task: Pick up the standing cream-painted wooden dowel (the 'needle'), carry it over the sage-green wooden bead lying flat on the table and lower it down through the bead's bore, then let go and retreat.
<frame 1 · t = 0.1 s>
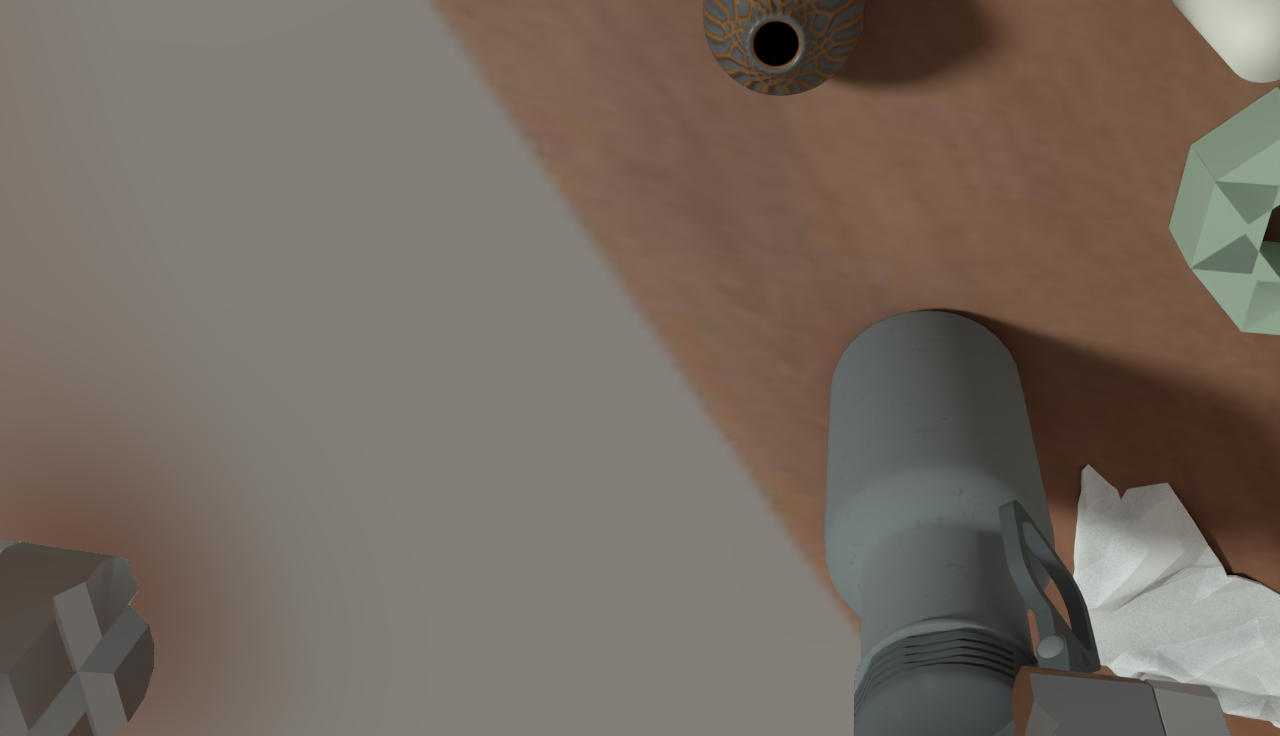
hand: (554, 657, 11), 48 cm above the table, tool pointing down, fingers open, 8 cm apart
cloth: (1191, 607, 69), on the table
water bottle: (927, 381, 63), on the table
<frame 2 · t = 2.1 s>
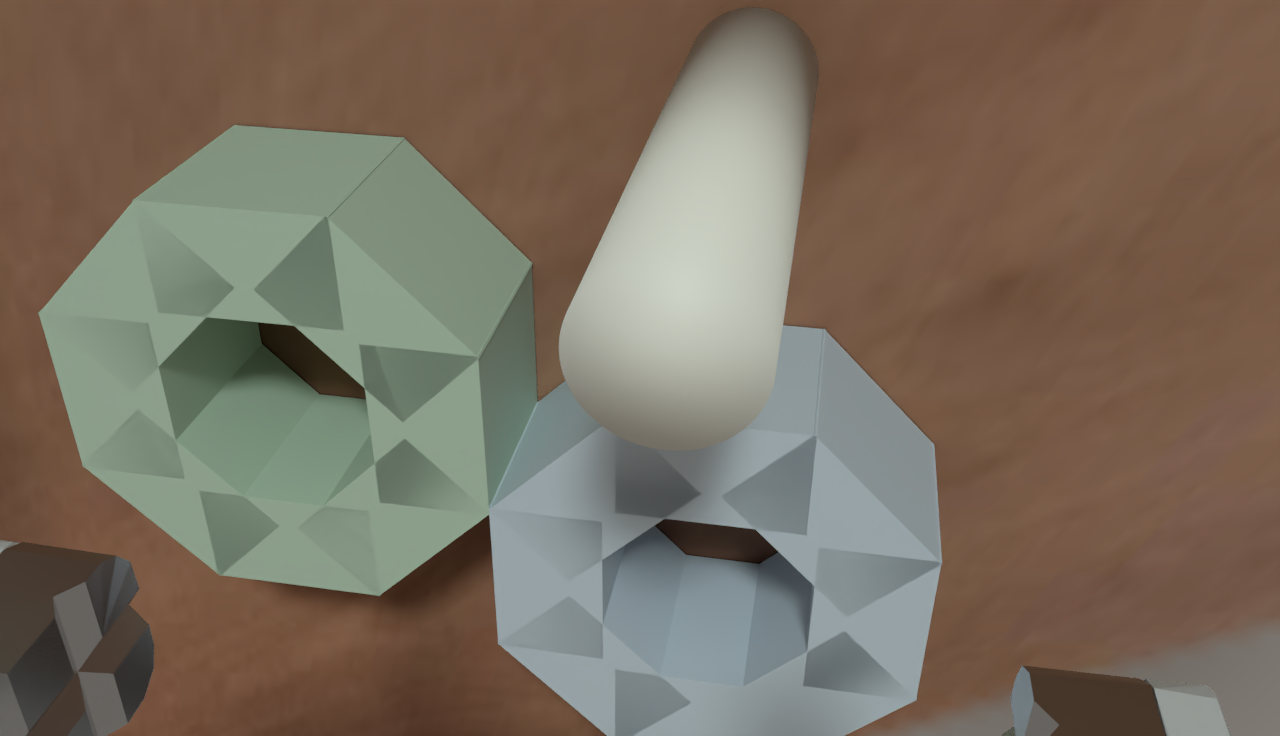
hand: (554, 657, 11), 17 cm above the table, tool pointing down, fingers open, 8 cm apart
bead: (344, 319, 30), on the table
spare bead: (726, 488, 31), on the table
dowel: (752, 74, 25), on the table
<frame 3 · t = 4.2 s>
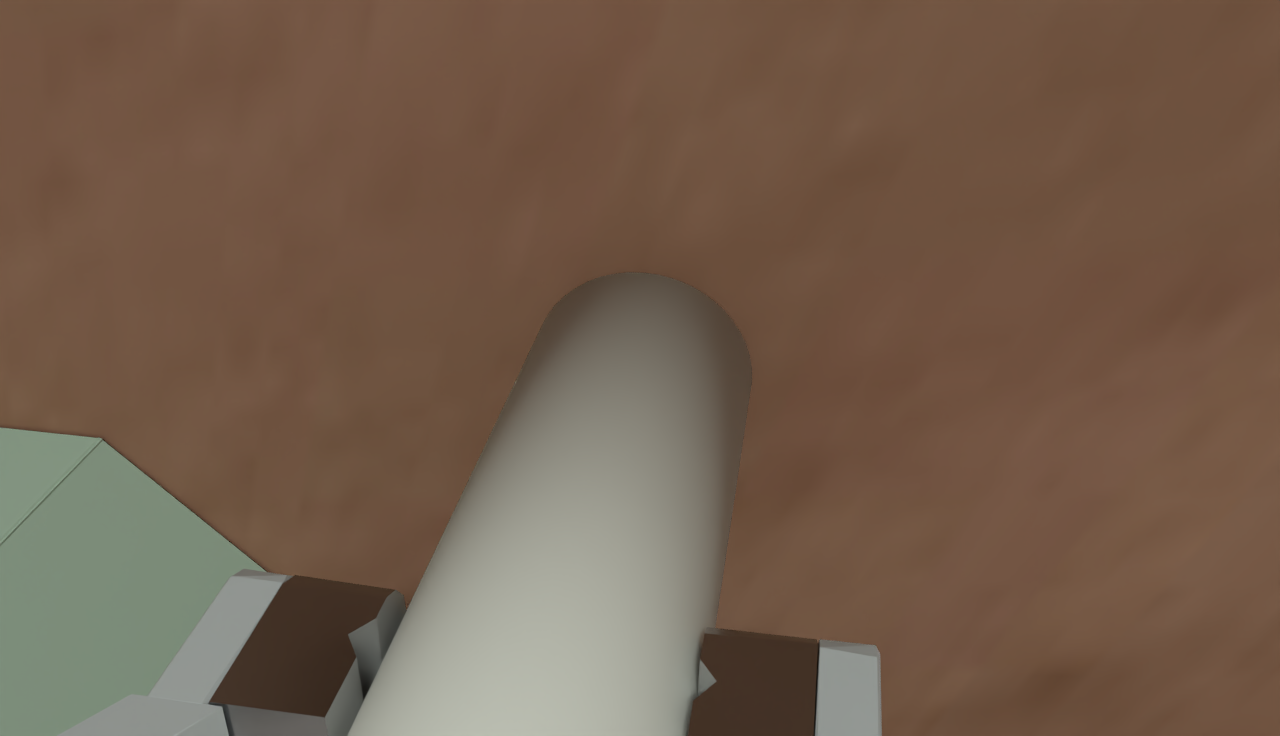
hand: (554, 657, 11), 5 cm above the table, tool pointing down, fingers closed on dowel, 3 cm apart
bead: (53, 670, 20), on the table
dowel: (642, 371, 15), on the table, touching gripper
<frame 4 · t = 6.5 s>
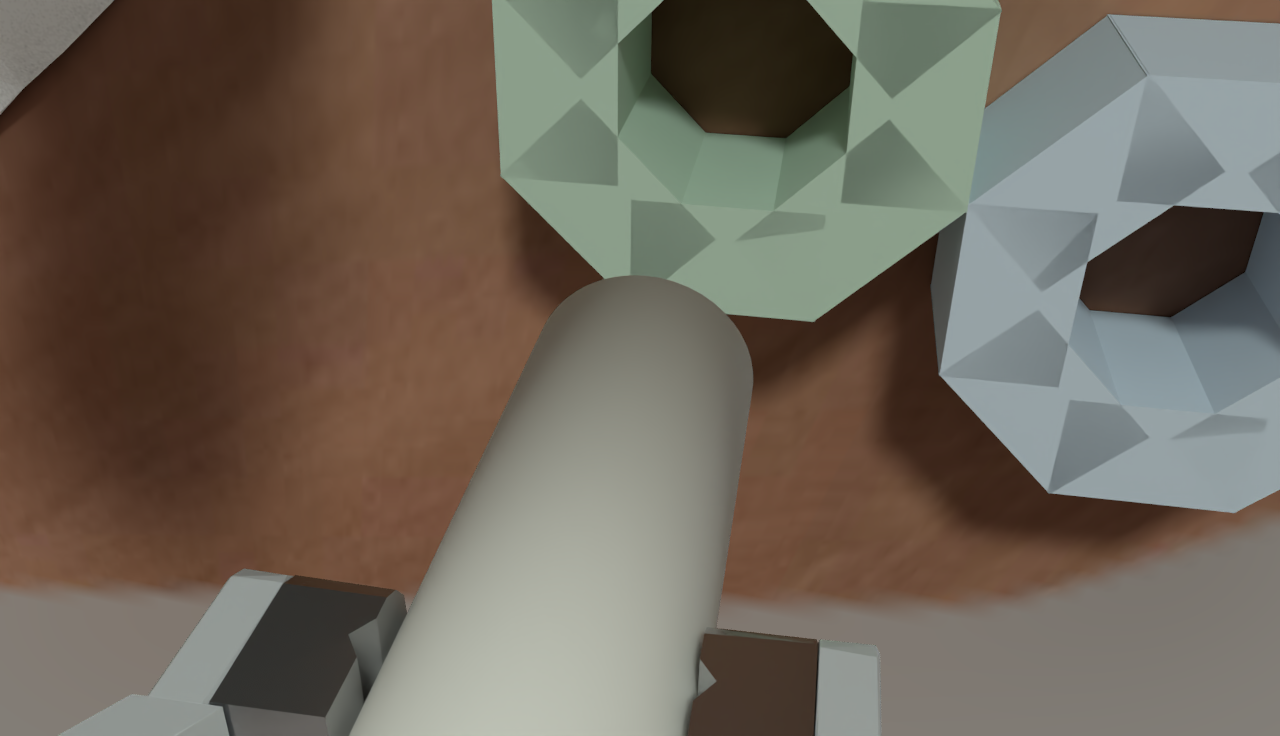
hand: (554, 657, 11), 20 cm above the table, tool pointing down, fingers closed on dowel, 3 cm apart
bead: (751, 38, 28), on the table
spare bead: (1152, 226, 29), on the table
dowel: (643, 374, 15), point 15 cm above the table, touching gripper
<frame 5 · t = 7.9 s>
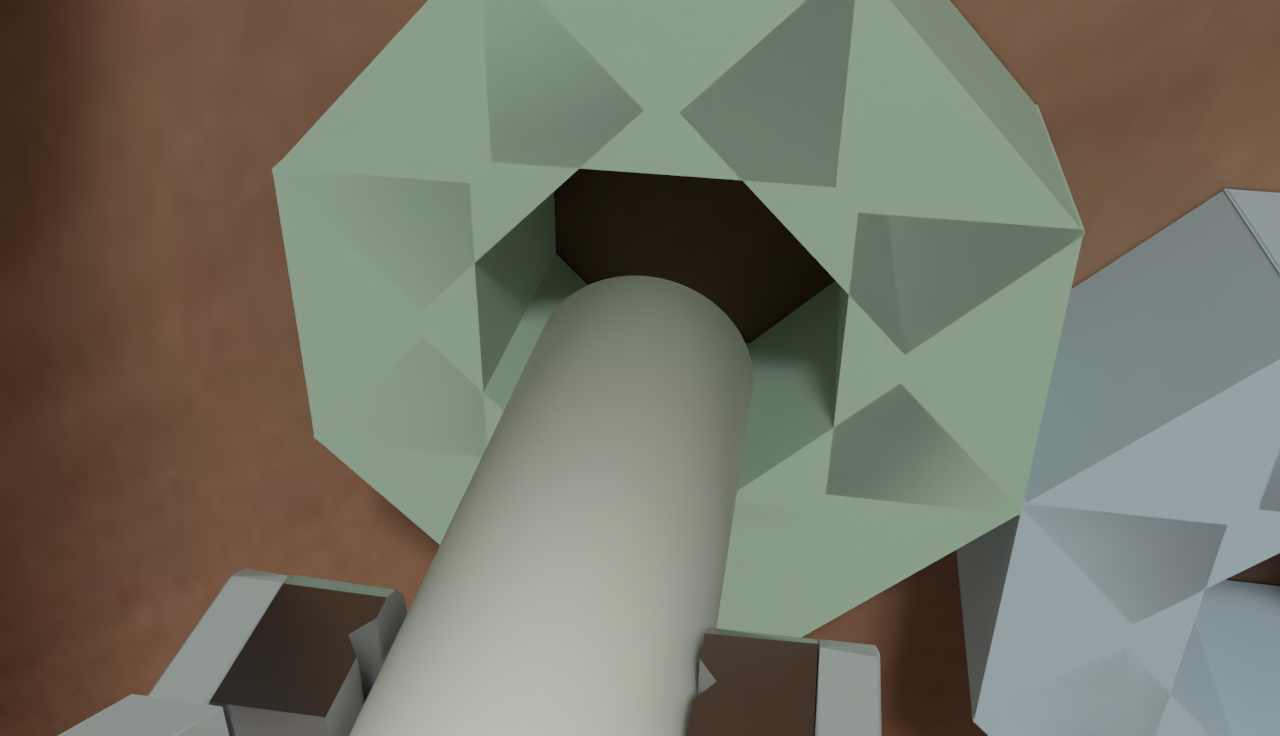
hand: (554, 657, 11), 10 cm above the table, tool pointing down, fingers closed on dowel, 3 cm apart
bead: (698, 210, 19), on the table
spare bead: (1275, 473, 20), on the table
dowel: (643, 374, 15), point 5 cm above the table, touching gripper
when the fingers open (6 cm above the table, at t = 8.9 s): dowel drops 1 cm, resting in bead.
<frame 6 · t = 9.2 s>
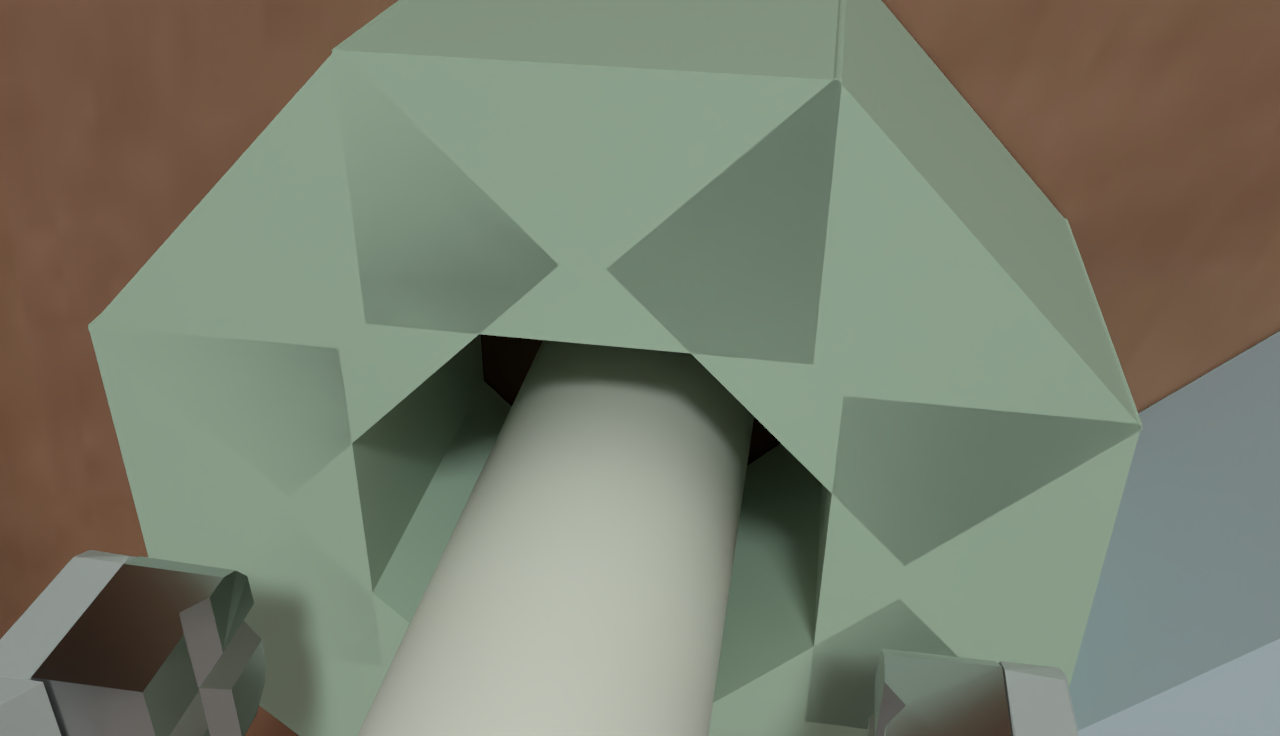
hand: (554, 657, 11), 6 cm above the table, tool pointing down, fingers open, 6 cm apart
bead: (652, 334, 16), on the table
dowel: (660, 335, 16), resting in bead
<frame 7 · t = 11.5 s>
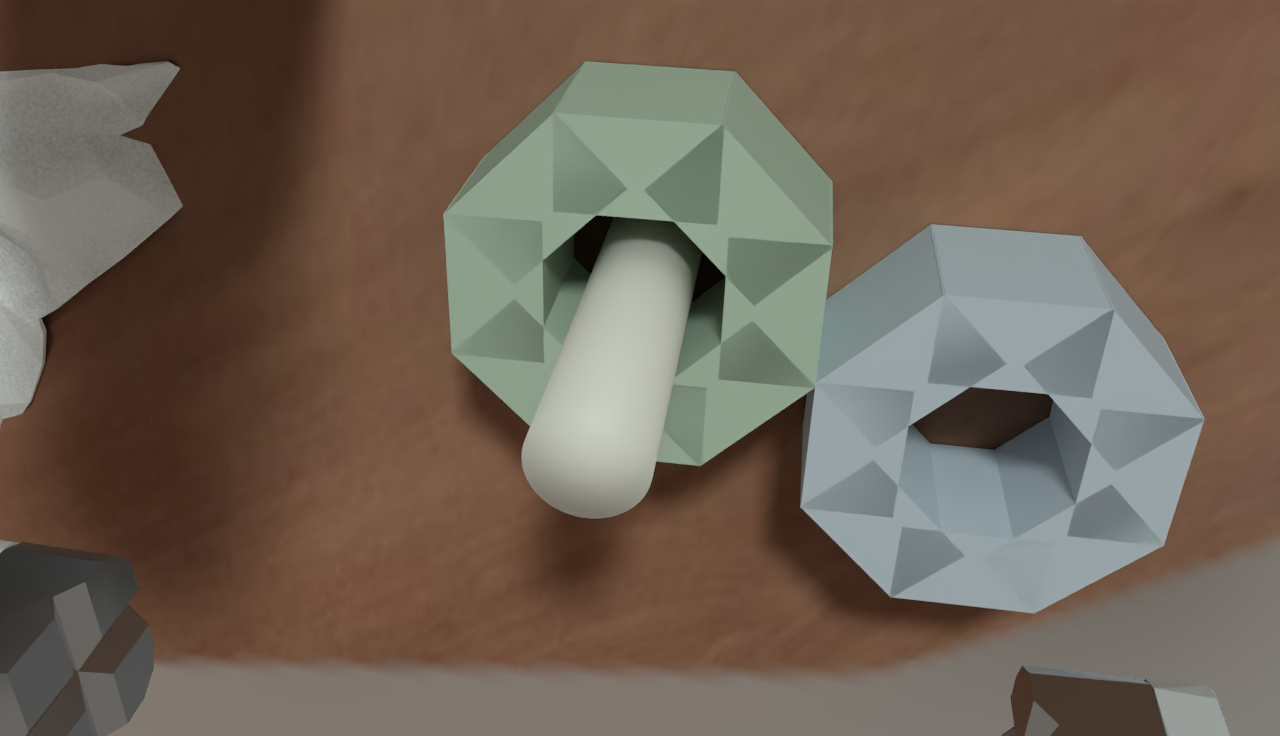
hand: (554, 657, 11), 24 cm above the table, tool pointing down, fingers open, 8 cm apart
bead: (654, 233, 35), on the table
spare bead: (975, 381, 36), on the table
dowel: (657, 234, 35), resting in bead
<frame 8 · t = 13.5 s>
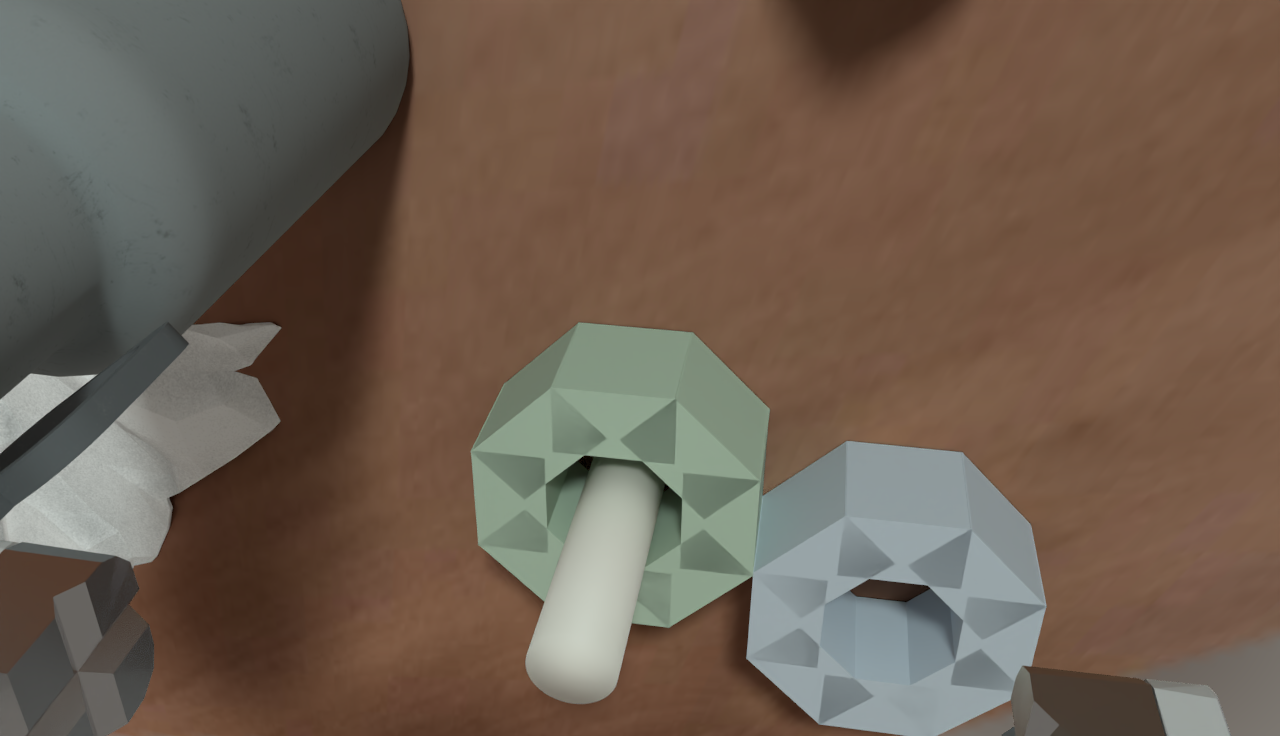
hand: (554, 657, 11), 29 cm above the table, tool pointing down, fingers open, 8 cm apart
cloth: (101, 457, 51), on the table
water bottle: (281, 28, 39), on the table
bead: (634, 441, 45), on the table
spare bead: (888, 552, 46), on the table
dowel: (637, 442, 45), resting in bead
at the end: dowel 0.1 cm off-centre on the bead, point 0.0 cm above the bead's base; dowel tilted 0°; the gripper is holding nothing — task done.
